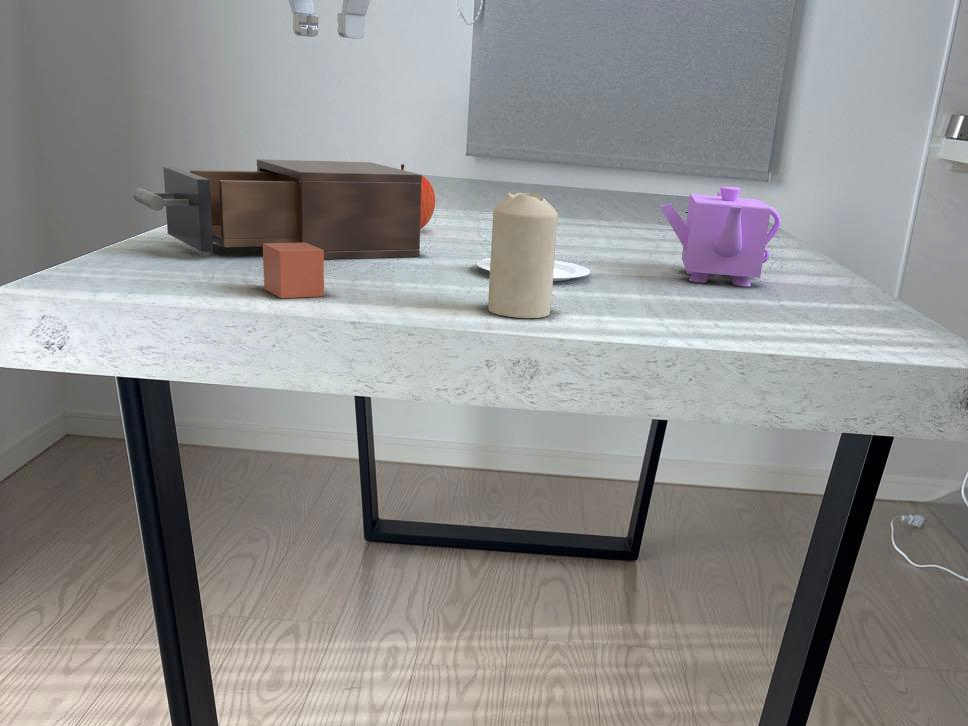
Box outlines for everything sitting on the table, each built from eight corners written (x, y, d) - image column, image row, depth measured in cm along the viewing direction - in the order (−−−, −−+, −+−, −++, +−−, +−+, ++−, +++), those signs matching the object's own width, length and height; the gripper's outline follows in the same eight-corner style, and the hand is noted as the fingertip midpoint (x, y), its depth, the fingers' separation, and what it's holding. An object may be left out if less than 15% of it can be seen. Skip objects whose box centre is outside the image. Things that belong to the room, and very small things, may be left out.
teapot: (650, 260, 126) (660, 174, 122) (760, 270, 125) (774, 184, 122) (655, 287, 109) (667, 188, 105) (782, 298, 109) (799, 200, 105)
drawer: (160, 253, 101) (155, 178, 99) (129, 234, 110) (123, 165, 107) (321, 249, 110) (320, 181, 107) (280, 232, 119) (279, 169, 116)
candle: (545, 321, 90) (554, 199, 86) (482, 314, 91) (488, 193, 87) (554, 309, 95) (563, 193, 91) (494, 303, 96) (500, 187, 92)
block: (280, 298, 91) (279, 250, 89) (263, 289, 94) (262, 243, 92) (324, 296, 93) (323, 249, 91) (306, 287, 96) (305, 242, 94)
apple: (431, 237, 130) (433, 169, 127) (366, 232, 130) (366, 163, 127) (437, 229, 137) (439, 164, 134) (374, 224, 137) (375, 159, 134)
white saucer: (467, 262, 115) (469, 221, 113) (573, 266, 118) (577, 226, 116) (486, 283, 105) (488, 238, 103) (602, 287, 107) (606, 243, 106)
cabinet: (302, 259, 109) (301, 172, 105) (259, 240, 118) (256, 159, 115) (419, 256, 116) (422, 174, 113) (370, 238, 125) (370, 162, 122)
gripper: (243, -145, 91) (248, 32, 97) (343, -176, 76) (343, 35, 82) (312, -132, 95) (313, 38, 100) (421, -160, 79) (415, 42, 85)
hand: (327, 37), depth 91 cm, fingers open, 8 cm apart
